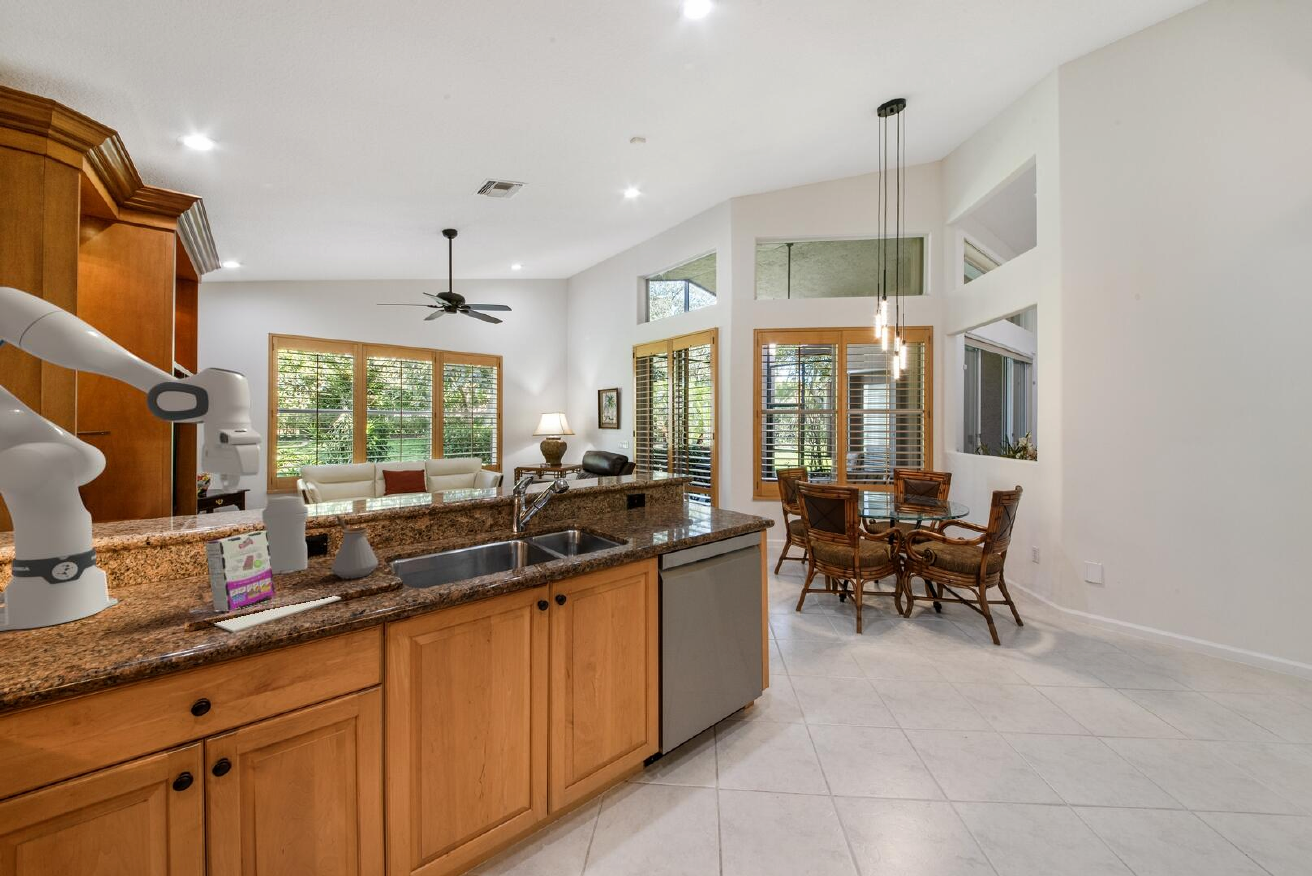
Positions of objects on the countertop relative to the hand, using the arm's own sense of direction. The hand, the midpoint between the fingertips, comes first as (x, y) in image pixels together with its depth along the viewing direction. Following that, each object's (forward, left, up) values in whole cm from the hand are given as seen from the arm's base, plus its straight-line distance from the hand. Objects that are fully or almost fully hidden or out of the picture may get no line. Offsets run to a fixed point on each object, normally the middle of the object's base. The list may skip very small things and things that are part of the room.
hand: (230, 492), depth 122 cm
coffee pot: (+2, +27, -27) cm, 38 cm away
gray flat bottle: (-13, +18, -27) cm, 35 cm away
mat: (+16, +1, -26) cm, 31 cm away
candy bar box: (+7, -1, -26) cm, 27 cm away
